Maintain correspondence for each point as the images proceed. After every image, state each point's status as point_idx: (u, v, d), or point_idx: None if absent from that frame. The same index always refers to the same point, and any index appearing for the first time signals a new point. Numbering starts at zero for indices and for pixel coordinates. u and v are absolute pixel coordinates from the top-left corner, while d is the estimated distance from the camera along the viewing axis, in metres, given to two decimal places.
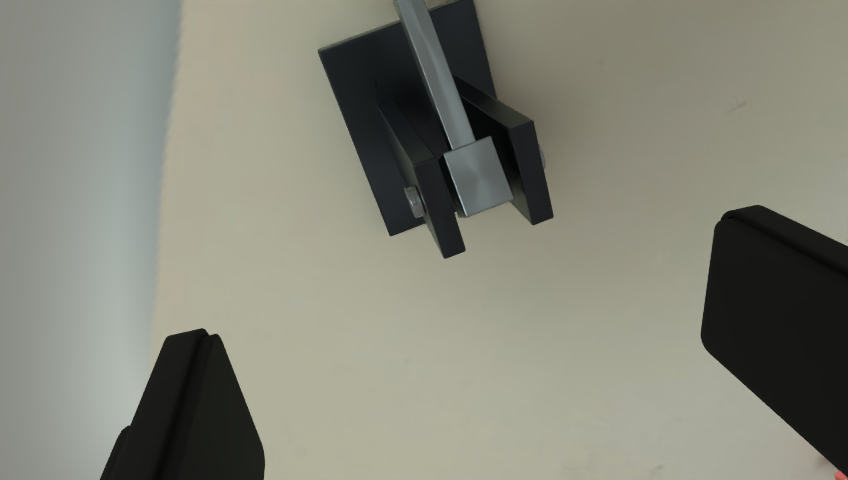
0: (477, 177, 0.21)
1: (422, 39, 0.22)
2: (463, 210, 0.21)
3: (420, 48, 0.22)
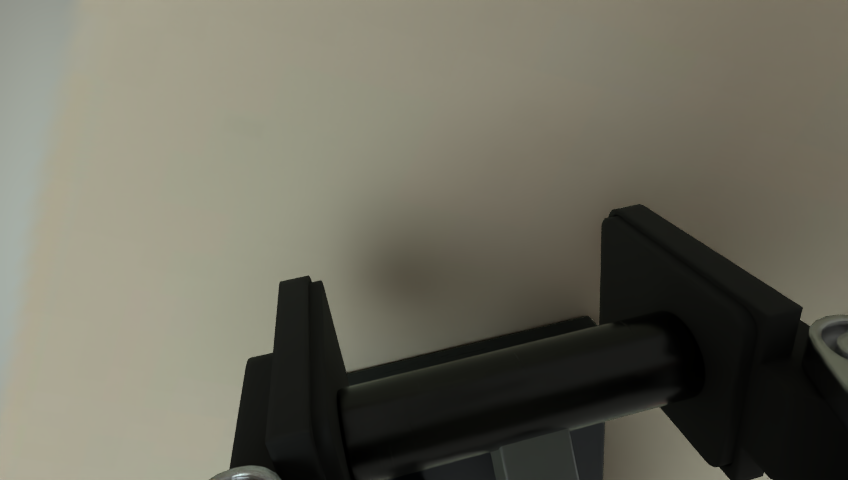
0: None
1: None
2: None
3: None
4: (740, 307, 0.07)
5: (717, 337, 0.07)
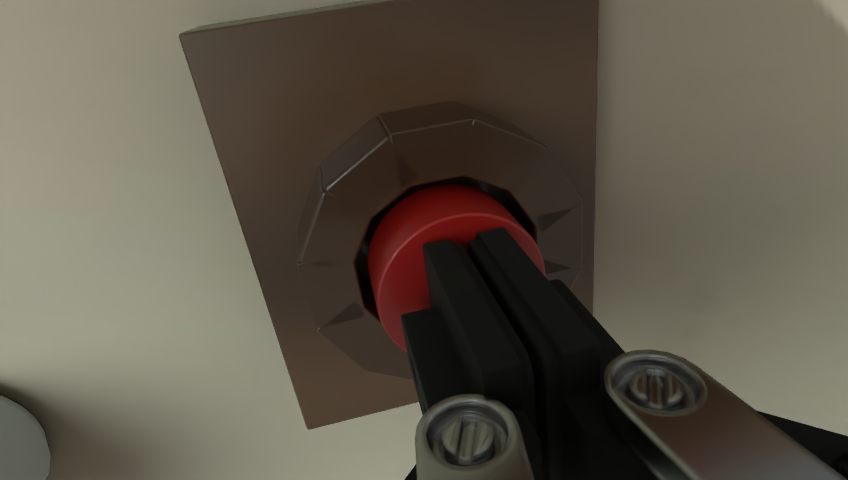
0: None
1: None
2: None
3: None
4: (548, 340, 0.07)
5: (534, 370, 0.07)
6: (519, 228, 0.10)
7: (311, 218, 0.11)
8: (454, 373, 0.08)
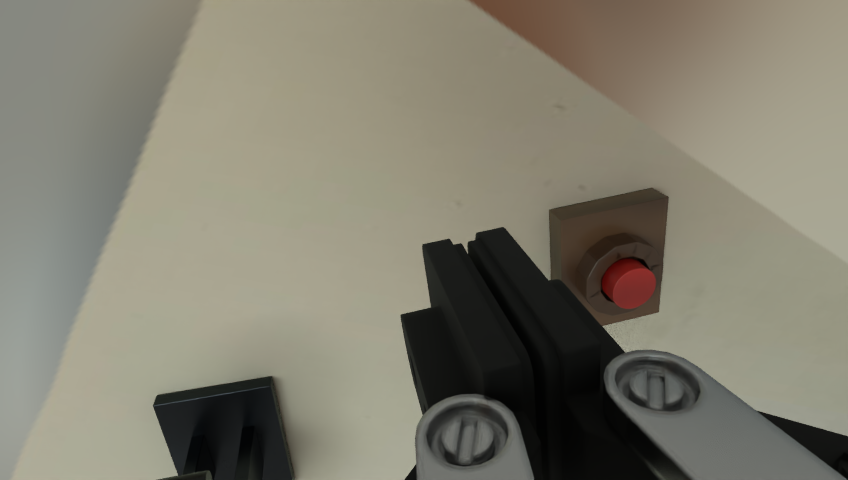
0: None
1: None
2: None
3: None
4: (548, 340, 0.07)
5: (534, 370, 0.07)
6: (650, 271, 0.40)
7: (592, 267, 0.40)
8: (454, 373, 0.08)
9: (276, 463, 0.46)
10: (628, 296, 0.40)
